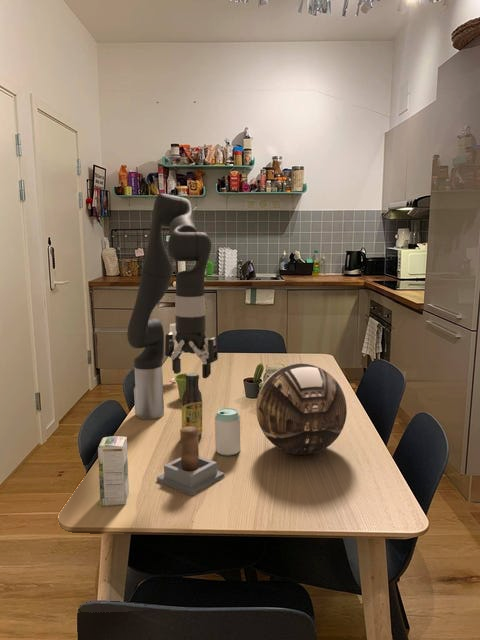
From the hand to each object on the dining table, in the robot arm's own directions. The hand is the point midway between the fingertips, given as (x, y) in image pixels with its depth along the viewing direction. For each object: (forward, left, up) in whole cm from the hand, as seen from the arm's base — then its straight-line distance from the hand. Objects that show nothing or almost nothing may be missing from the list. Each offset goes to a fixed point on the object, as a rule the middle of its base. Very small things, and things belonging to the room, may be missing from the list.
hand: (191, 375), depth 129 cm
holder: (+4, -5, -25) cm, 26 cm away
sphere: (+17, +26, -26) cm, 40 cm away
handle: (+4, -5, -24) cm, 25 cm away
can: (+1, +13, -26) cm, 29 cm away
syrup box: (-3, -23, -26) cm, 34 cm away
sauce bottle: (-14, +14, -26) cm, 33 cm away
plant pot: (-41, +39, -26) cm, 62 cm away
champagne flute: (-61, +53, -26) cm, 85 cm away
